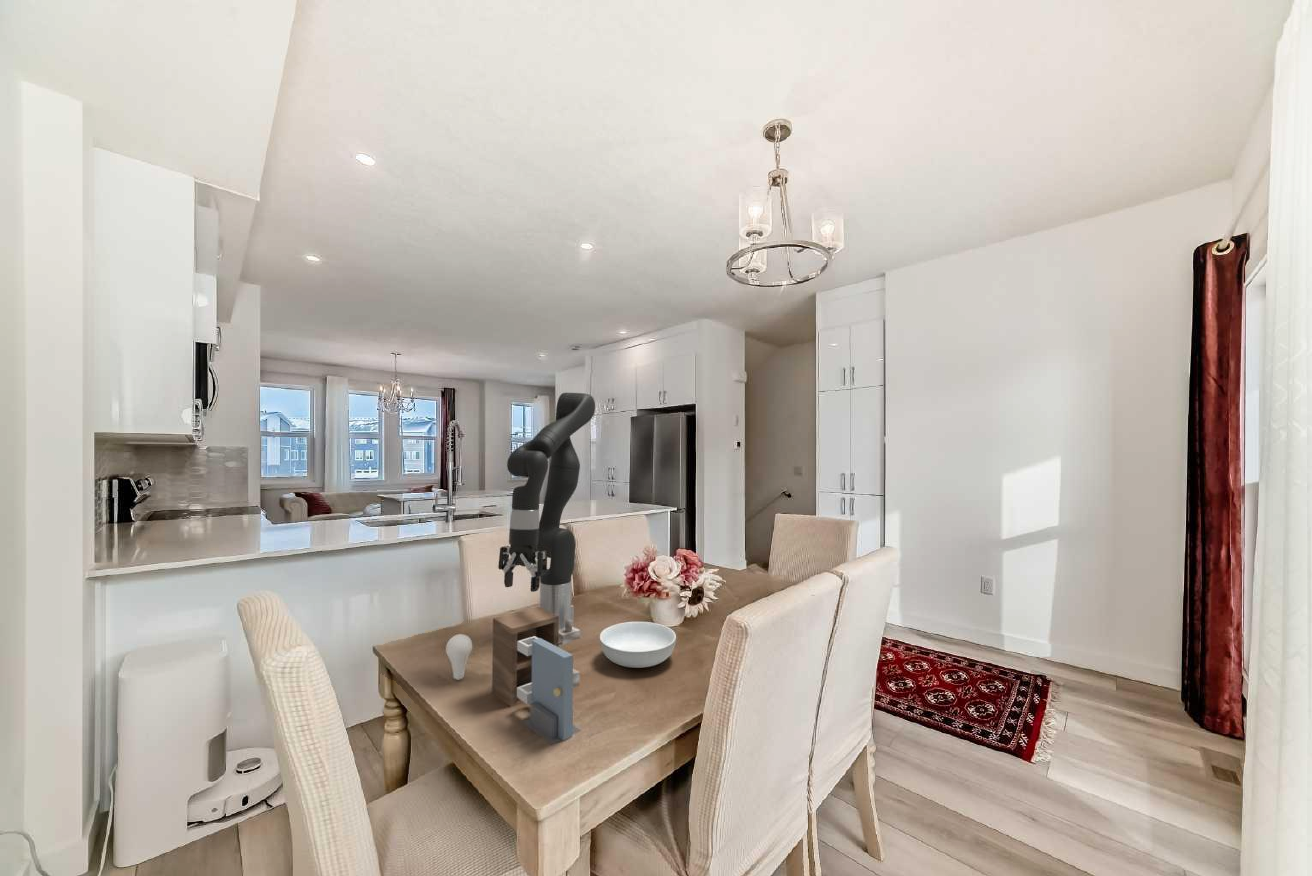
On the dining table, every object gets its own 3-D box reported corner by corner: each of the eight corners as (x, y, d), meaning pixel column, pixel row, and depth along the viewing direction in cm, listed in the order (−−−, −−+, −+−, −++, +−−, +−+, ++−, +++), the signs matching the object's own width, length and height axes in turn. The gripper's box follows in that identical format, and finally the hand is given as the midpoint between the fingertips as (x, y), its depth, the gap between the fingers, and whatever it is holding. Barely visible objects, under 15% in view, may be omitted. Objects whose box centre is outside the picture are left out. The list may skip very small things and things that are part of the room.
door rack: (550, 714, 110) (550, 691, 110) (580, 735, 103) (581, 710, 103) (521, 726, 105) (521, 702, 106) (551, 749, 98) (551, 723, 98)
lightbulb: (450, 674, 129) (450, 630, 129) (474, 673, 129) (475, 630, 130) (441, 685, 123) (442, 640, 123) (467, 685, 123) (468, 639, 123)
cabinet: (553, 673, 130) (554, 602, 130) (579, 688, 122) (580, 613, 122) (492, 696, 118) (493, 618, 118) (515, 714, 110) (516, 631, 110)
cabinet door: (533, 704, 113) (534, 631, 113) (576, 734, 101) (577, 653, 101) (516, 711, 110) (517, 636, 110) (558, 742, 98) (559, 659, 98)
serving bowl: (583, 666, 134) (584, 640, 134) (625, 640, 153) (625, 617, 153) (653, 685, 124) (653, 656, 124) (688, 654, 143) (688, 629, 143)
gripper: (555, 527, 134) (552, 590, 133) (513, 523, 140) (510, 582, 139) (536, 530, 127) (533, 595, 126) (493, 525, 134) (490, 588, 133)
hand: (521, 588), depth 133 cm, fingers open, 8 cm apart
